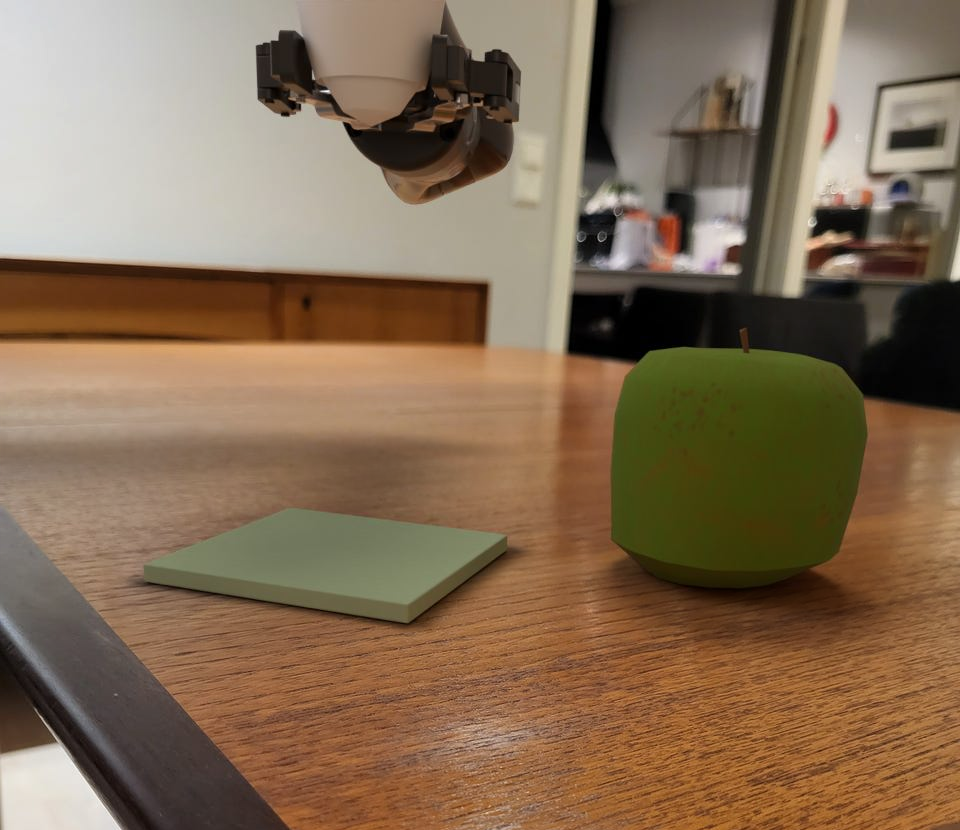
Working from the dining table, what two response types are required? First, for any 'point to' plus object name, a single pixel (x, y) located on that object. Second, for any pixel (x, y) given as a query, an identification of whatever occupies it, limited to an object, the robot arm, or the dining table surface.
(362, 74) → the white rounded shell
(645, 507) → the apple
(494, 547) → the drink mat
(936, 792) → the dining table surface
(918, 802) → the dining table surface
